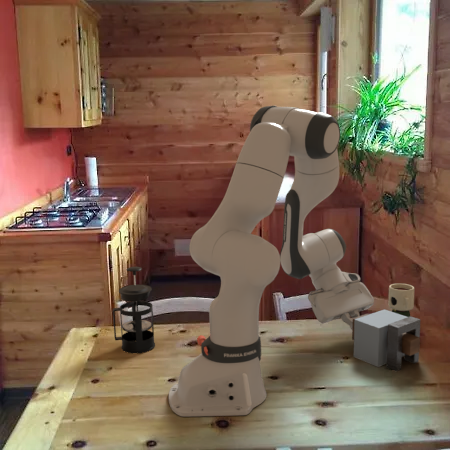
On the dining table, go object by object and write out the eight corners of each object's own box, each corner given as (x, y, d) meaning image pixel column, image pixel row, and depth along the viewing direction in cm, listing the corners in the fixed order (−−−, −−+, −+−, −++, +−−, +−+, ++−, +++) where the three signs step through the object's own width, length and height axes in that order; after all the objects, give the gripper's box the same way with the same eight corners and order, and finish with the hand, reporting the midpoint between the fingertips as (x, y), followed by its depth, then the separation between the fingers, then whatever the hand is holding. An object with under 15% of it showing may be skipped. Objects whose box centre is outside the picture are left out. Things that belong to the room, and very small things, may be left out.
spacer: (386, 367, 147) (388, 324, 144) (408, 357, 152) (410, 316, 150) (396, 371, 144) (398, 327, 142) (418, 361, 150) (420, 319, 147)
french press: (155, 338, 169) (151, 261, 164) (159, 351, 160) (155, 270, 155) (114, 343, 166) (109, 265, 162) (116, 356, 157) (111, 274, 153)
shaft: (352, 339, 157) (352, 318, 156) (366, 334, 161) (367, 313, 159) (407, 361, 143) (408, 338, 142) (421, 354, 147) (422, 332, 145)
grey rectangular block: (353, 356, 153) (354, 319, 151) (383, 345, 160) (384, 309, 158) (377, 367, 147) (379, 328, 145) (407, 354, 154) (409, 317, 152)
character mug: (382, 322, 177) (383, 281, 174) (405, 321, 177) (406, 281, 175) (394, 336, 166) (396, 293, 164) (418, 335, 167) (420, 292, 164)
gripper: (311, 287, 156) (337, 331, 151) (362, 273, 168) (388, 314, 162) (299, 298, 161) (324, 342, 155) (350, 284, 173) (375, 324, 167)
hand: (357, 328), depth 159 cm, fingers closed, pressing on shaft
